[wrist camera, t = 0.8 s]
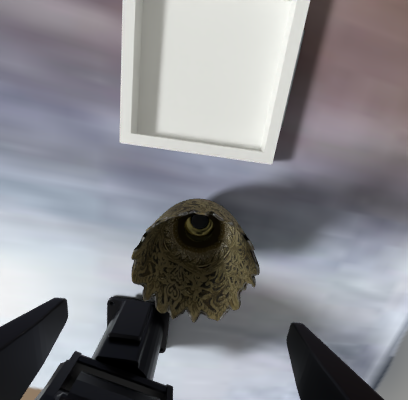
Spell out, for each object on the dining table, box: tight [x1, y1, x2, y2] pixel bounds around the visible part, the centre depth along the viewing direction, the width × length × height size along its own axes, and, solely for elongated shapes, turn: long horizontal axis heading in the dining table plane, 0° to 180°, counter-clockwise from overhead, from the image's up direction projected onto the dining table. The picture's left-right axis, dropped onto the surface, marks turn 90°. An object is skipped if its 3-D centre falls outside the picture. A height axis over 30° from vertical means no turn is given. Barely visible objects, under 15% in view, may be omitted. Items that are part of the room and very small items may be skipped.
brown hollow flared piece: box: [132, 199, 260, 323], centre depth 16 cm, size 8×7×8 cm
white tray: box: [120, 0, 310, 165], centre depth 16 cm, size 12×12×2 cm
